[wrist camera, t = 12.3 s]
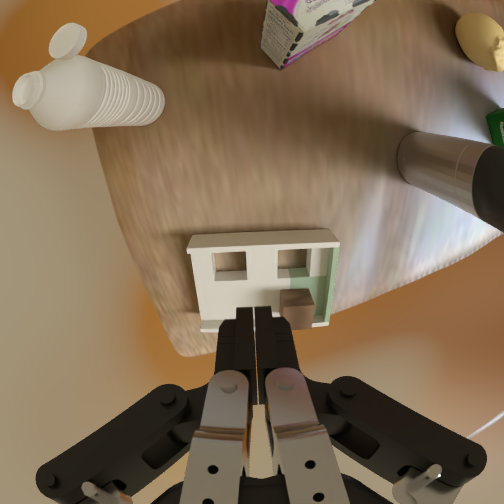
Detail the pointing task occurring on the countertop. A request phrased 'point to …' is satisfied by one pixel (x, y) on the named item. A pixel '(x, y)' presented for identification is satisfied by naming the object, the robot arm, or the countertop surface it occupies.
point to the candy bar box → (304, 25)
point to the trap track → (262, 273)
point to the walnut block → (297, 308)
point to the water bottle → (85, 90)
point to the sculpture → (481, 40)
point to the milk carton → (497, 127)
